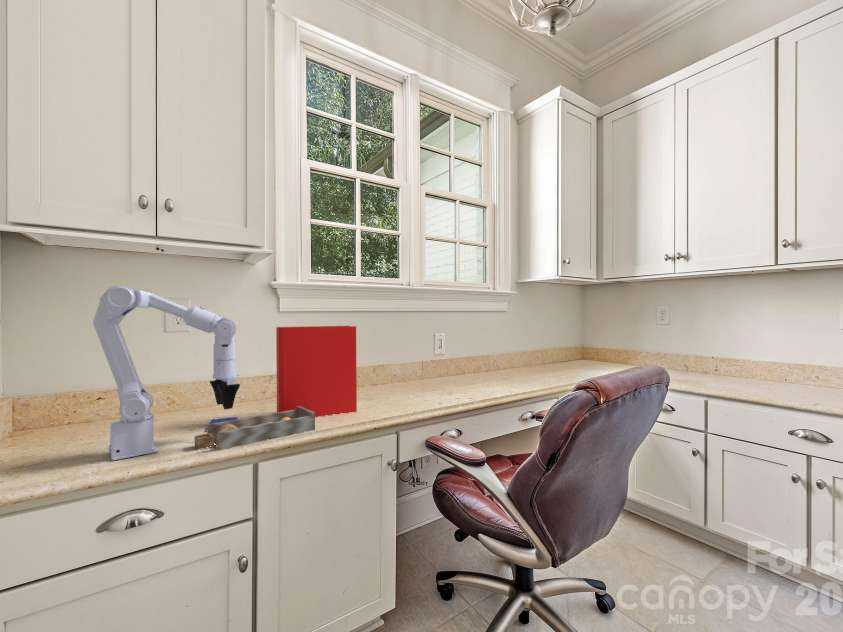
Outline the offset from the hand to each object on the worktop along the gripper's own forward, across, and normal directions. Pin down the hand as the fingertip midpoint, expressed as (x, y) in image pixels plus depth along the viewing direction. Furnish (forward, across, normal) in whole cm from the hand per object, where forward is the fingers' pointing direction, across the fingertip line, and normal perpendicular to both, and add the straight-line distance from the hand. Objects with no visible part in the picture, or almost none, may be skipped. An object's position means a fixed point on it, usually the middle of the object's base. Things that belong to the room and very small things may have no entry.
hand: (224, 406), depth 114 cm
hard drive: (+11, +17, -4) cm, 20 cm away
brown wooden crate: (+10, -3, +6) cm, 12 cm away
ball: (+8, -2, -17) cm, 19 cm away
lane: (+14, -2, -10) cm, 17 cm away
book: (+10, +10, -34) cm, 36 cm away
